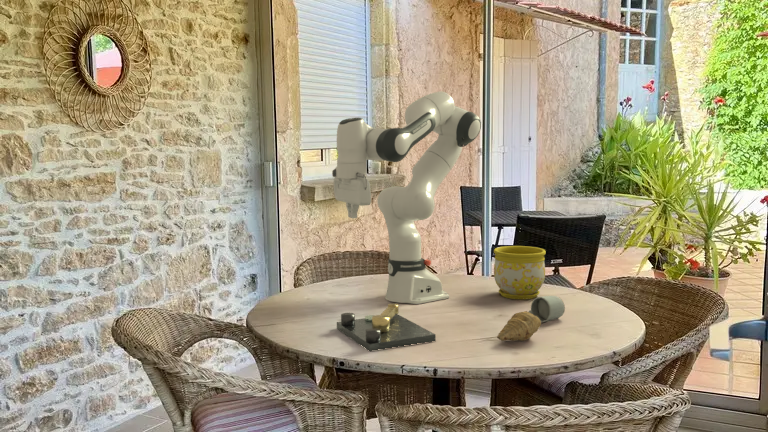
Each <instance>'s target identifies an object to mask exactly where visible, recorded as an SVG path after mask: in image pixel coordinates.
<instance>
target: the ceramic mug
mask: <svg viewBox="0 0 768 432" xmlns="http://www.w3.org/2000/svg"><path fill="white" fill-rule="evenodd" d="M565 309H566V307H565V303H564V300H563V299H562V298H561V297H559V296H557V295H545V296H537V297H535V298H533V299H532V302H531V305H530V310H528V312H529V313H531V314H533V315H534V316H537V317H538V318H539V319H540V320H541V323H546V322H549V321H550V322H551V321H554V320H557V319H559V318H561V317H562V316H563V315H564V313H565Z"/></svg>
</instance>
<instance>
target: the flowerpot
mask: <svg viewBox="0 0 768 432" xmlns="http://www.w3.org/2000/svg"><path fill="white" fill-rule="evenodd" d="M546 251H547V250H546V249H544V248H540V247H536V246H525V245H508V246H507V245H505V246H498V247H495V248H494V249H493V253H494V254H495V256H494V264H493V265H494V266H493V277H494V281H495V284H496V286H497V287H498V288H499V289H498V293H499V294H500V295H501V297H503V298H506V299H511V300H531V299H532V300H534V299H535V298H537V297H538V295H540V291H539V290H540V289H541V287H542V286H543V285H544V282H545V280H546V279H545V278H546V264H545V259H546V258H545V255H546Z"/></svg>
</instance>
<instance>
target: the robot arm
mask: <svg viewBox="0 0 768 432" xmlns="http://www.w3.org/2000/svg"><path fill="white" fill-rule="evenodd" d="M454 101H455V100H454V99H453V97H452V96H451V95H450V94H449V93H448V92H446V91H436V92H432V93H429V94H427V95H424V96H421V98H418V99H417V100H414V101H413V102H412V103H410V104H409V105H408V107H407V108H406V109H405V111H404V121H405V126H403V127H392V128H391V127H390V128H375V127H372V126H370V125H369V124H368V123H366V121H364V118H362V117H351V118H346V119H342V120H341V121H340V122H339V123H338V125H337V130H336V149H337V150H336V151H337V156H338V157H337V159H336V160H337V161H336V166H335V168H334V169H333V170H331V175H332V176H331V177H332V178H333V194H334V198H335V200H336V201H338V202H343V203H345V206H346V211H347V217H348V218H351V219H357V218H358V211H359V208H360V206H361V207H362V206H364V207H365V206H371V203H372V192H371V184H370V181H369V179H368V178H367V175H368V171H367V161H380V162H381V161H383V162H385V161H386V162H392V163H399V162H400V161H402V160H404V159H405V157H406V156H407V155H408V154H409V152H410V151H411V149H412V148H413V147H414V146H415V145H417V144H418V143H419V142H420V141H422V140H423V139H425V138H426V137H427V136H429V135H430V134H431V133H432V132H434V133H436V134H438V137H437V139H436V140H435V141H434V142H433V143H432V144H431V145H430V146H429V147H428V148H427V149H426V150H425V152H424V153H423V155H422V156H420V158H419V159H418V161H417V162H416V163H415V164H414V165H413V167H412V169H411V174H412V177H411V180H410V181H409V183H408V184H407V185H406V186H400V185H399V186H398V185H395V186H389V187H386V188H384V189H382V190H381V191H380V193H379V194H378V197H377V207H378V209H379V210H380V212H381V214H382V216H383V218H384V221H385V224H386V229H387V233H388V245H389V247H388V249H389V251H388V253H389V254H388V255H389V258H388V260H387V261H388V262H387V264H388V265H387V268H388V269H387V270H388V281H387V283H388V284H387V288H386V292H385V297H384V299H386V300H387V301H389V302H392V303H398V304H399V303H401V304H412V305H413V304H414V305H419V304H425V303H431V302H434V301H440V300H445V299H449V298H450V295H449V293H448V292H447V291H444V290H443V284H442V281H441V279H440V278H439V277H438V276H436V275H435V274H434V273H432V272H431V271H430V270H429V269H427V267H428V266H429V267H430V266H431V265H432V261H431V260H430V259H428V258H427V259H424V258H422V236H421V234H420V232H419V231H418V229H417V227H416V224H415V222H418V221H423V220H427V219H429V218H430V217H431V216H432V215H433V213H434V210H435V206H436V205H435V199H434V198H435V195H436V192H437V190H438V188H439V187H440V185H441V184H442V183H443V182H444V180H445V178H446V177H447V175H448V174H449V173H450V171H451V170H452V169H453V167H454V166H455V164H456V162H458V159H459V157H460V155H461V153H462V150H463V148H464V147H467V145H469V144H470V143H472V142H473V141H475V140H476V138H477V137H478V136H479V134H480V132H481V130H482V129H481V128H482V121H481V117H479V116H478V115H477V114H476V113H474V112H472V111H468V110H467V109H464V108H462V107H459V106H456V104H455V102H454Z"/></svg>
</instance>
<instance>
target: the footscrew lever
mask: <svg viewBox="0 0 768 432" xmlns="http://www.w3.org/2000/svg"><path fill="white" fill-rule="evenodd" d="M385 308H386V309H384V311H382V313H381V314H375V316H373V317H372V328H377V329H380V330H381V332H387V331H389V330H390V320H391V319H392V317H393V316H394V315H395V314H398V315H399V312H400V311H399V303H397V302H392V303H388V304H387V307H385Z"/></svg>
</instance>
